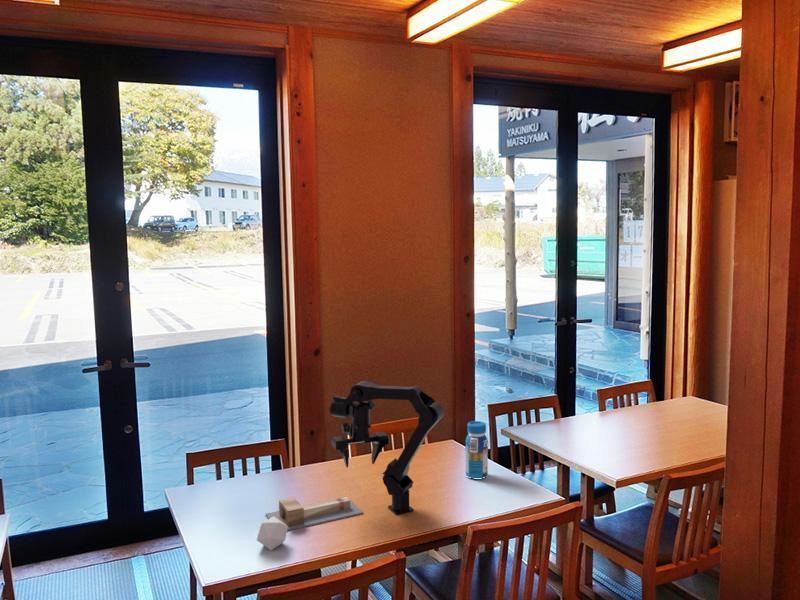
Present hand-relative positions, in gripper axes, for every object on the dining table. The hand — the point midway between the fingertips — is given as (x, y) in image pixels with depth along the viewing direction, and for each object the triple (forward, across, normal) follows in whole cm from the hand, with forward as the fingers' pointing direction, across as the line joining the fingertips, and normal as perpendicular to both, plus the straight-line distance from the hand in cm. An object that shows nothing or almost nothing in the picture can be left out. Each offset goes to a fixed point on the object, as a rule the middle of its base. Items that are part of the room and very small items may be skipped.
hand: (359, 465), depth 219 cm
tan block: (+13, +24, +4) cm, 28 cm away
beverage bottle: (+12, -47, -4) cm, 49 cm away
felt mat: (+13, +16, +3) cm, 21 cm away
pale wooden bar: (+13, +14, +4) cm, 19 cm away
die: (+14, +33, +18) cm, 40 cm away
